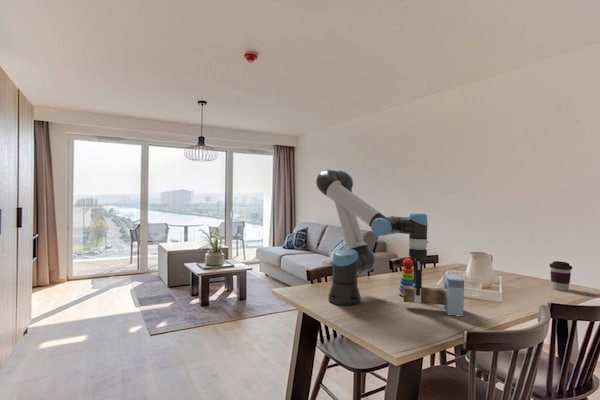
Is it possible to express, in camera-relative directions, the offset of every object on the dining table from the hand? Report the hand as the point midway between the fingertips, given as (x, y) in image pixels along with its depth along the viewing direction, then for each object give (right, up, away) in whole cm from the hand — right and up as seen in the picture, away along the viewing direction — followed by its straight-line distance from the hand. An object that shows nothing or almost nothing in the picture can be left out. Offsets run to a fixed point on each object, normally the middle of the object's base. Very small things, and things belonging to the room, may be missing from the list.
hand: (417, 300), depth 152 cm
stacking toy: (+1, -3, +19) cm, 20 cm away
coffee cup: (+91, -5, +36) cm, 98 cm away
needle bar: (+4, 0, -1) cm, 4 cm away
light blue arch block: (+14, -4, -3) cm, 15 cm away
